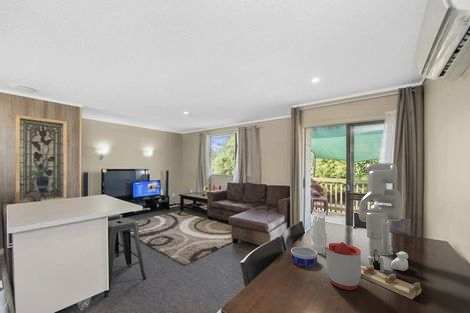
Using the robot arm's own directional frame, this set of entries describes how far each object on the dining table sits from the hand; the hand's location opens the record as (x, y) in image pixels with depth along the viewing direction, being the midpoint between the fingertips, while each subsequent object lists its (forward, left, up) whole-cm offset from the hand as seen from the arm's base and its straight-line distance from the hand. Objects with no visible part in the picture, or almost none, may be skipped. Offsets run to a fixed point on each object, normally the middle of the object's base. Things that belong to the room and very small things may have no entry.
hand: (375, 266), depth 117 cm
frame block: (0, 0, -2) cm, 2 cm away
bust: (-12, +7, -2) cm, 14 cm away
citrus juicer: (+30, -1, -2) cm, 30 cm away
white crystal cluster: (+4, -34, -2) cm, 34 cm away
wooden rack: (+11, +7, -2) cm, 13 cm away
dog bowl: (+26, -28, -2) cm, 38 cm away
